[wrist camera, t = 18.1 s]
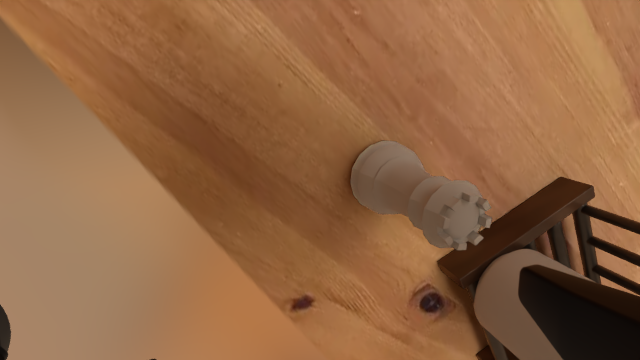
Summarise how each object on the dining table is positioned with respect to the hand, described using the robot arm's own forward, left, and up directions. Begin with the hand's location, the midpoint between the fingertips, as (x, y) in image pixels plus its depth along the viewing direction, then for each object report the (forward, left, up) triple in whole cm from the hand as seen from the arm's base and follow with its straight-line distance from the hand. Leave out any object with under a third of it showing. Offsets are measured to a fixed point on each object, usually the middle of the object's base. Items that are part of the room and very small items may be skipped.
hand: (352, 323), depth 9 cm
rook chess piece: (+6, -4, -13) cm, 15 cm away
